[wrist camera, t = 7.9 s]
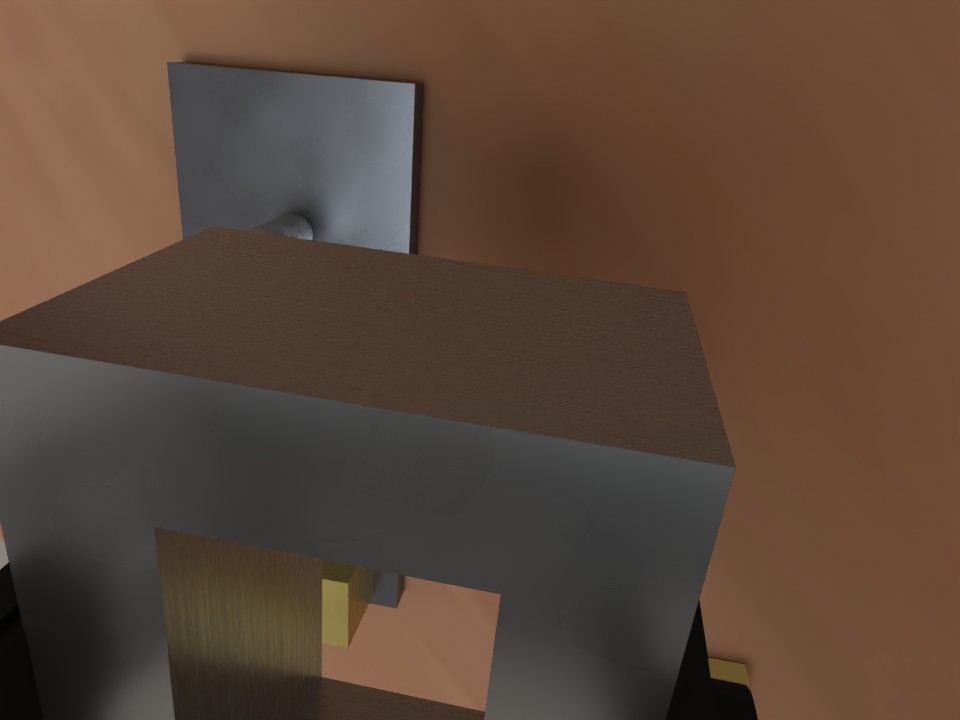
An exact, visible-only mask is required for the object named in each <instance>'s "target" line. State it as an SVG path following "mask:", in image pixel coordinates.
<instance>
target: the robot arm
mask: <svg viewBox="0 0 960 720" xmlns="http://www.w3.org/2000/svg"><path fill="white" fill-rule="evenodd" d="M0 720H43V715H42V710H41V705H40V700H39V696H38V691H37V686H36V681H35V677H34V672H33V667H32V662H31V658H30V653H29V648H28V643H27V639H26V634H25V630H23V626H22V621H21V617H20V612H19V607H18V603H17V598H16V593H15V588H14V584H13V579H12V574H11V569H10V565H9V563H8V564H7V565H5V566H4V567H3V568H2V569H1V570H0ZM666 720H758V719H757V714H756V709H755V704H754V701H753V697H752V694H751V691H750V689H749V688H748V686H747V685H745V684H740V683H735V682H730V681H725V680H720V679H715V678H711V675H710V668H709V661H708V654H707V648H706V641H705V634H704V628H703V621H702V614H701V608H700V601H698V605H697V609H696V612H695V616H694V619H693V623H692V627H691V630H690V634H689V637H688V641H687V645H686V648H685V652H684V656H683V659H682V663H681V666H680V670H679V674H678V677H677V681H676V684H675V688H674V692H673V695H672V699H671V702H670V706H669V710H668V713H667V717H666Z"/></svg>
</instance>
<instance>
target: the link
mask: <svg viewBox="0 0 960 720" xmlns="http://www.w3.org/2000/svg"><path fill="white" fill-rule="evenodd" d="M735 468H736V467H735V464H734V460H733V457H732V453H731V450H730V446H729V443H728V439H727V436H726V432H725V428H724V425H723V421H722V418H721V414H720V411H719V407H718V404H717V400H716V397H715V393H714V390H713V386H712V383H711V379H710V375H709V372H708V368H707V365H706V361H705V358H704V354H703V351H702V347H701V344H700V340H699V337H698V333H697V330H696V326H695V322H694V319H693V315H692V312H691V308H690V305H689V301H688V298H687V294H686V293H685V292H677V291H670V290H663V289H656V288H649V287H642V286H635V285H628V284H620V283H613V282H606V281H599V280H592V279H585V278H578V277H571V276H564V275H556V274H549V273H542V272H535V271H528V270H521V269H514V268H507V267H500V266H492V265H485V264H478V263H471V262H464V261H457V260H450V259H443V258H435V257H428V256H421V255H414V254H407V253H400V252H393V251H386V250H379V249H371V248H364V247H357V246H350V245H343V244H336V243H329V242H322V241H314V240H307V239H300V238H293V237H286V236H279V235H272V234H265V233H258V232H250V231H243V230H236V229H229V228H222V227H215V226H213V227H211V228H209V229H206V230H204V231H202V232H200V233H197V234H195V235H193V236H191V237H188V238H186V239H184V240H182V241H179V242H177V243H175V244H173V245H170V246H168V247H166V248H164V249H161V250H159V251H157V252H155V253H153V254H150V255H148V256H146V257H144V258H141V259H139V260H137V261H135V262H132V263H130V264H128V265H126V266H123V267H121V268H119V269H117V270H114V271H112V272H110V273H108V274H105V275H103V276H101V277H99V278H96V279H94V280H92V281H90V282H87V283H85V284H83V285H81V286H79V287H76V288H74V289H72V290H70V291H67V292H65V293H63V294H61V295H58V296H56V297H54V298H52V299H49V300H47V301H45V302H43V303H40V304H38V305H36V306H34V307H31V308H29V309H27V310H25V311H22V312H20V313H18V314H16V315H13V316H11V317H9V318H7V319H4V320H2V321H0V522H1V527H2V531H3V536H4V541H5V546H6V550H7V555H8V559H9V565H10V569H11V574H12V579H13V584H14V588H15V593H16V598H17V603H18V607H19V612H20V617H21V621H22V626H23V630H25V634H26V639H27V643H28V648H29V653H30V658H31V662H32V667H33V672H34V677H35V681H36V686H37V691H38V696H39V700H40V705H41V710H42V715H43V720H666V717H667V713H668V710H669V706H670V702H671V699H672V695H673V692H674V688H675V684H676V681H677V677H678V674H679V670H680V666H681V663H682V659H683V656H684V652H685V648H686V645H687V641H688V637H689V634H690V630H691V627H692V623H693V619H694V616H695V612H696V609H697V605H698V601H699V598H700V594H701V591H702V587H703V583H704V580H705V576H706V573H707V569H708V565H709V562H710V558H711V554H712V551H713V547H714V544H715V540H716V536H717V533H718V529H719V526H720V522H721V518H722V515H723V511H724V508H725V504H726V500H727V497H728V493H729V489H730V486H731V482H732V479H733V475H734V471H735ZM323 560H327V561H332V562H337V563H342V564H347V565H353V566H358V567H363V568H368V569H373V570H378V571H384V572H389V573H394V574H399V575H404V576H409V577H415V578H420V579H425V580H430V581H435V582H440V583H446V584H451V585H456V586H461V587H466V588H471V589H476V590H482V591H487V592H492V593H497V594H501V597H500V605H499V612H498V620H497V627H496V635H495V642H494V649H493V657H492V664H491V672H490V679H489V686H488V694H487V701H486V709H485V712H483V711H478V710H474V709H469V708H464V707H460V706H455V705H450V704H446V703H441V702H436V701H432V700H427V699H422V698H418V697H413V696H408V695H403V694H399V693H394V692H389V691H385V690H380V689H375V688H371V687H366V686H361V685H357V684H352V683H347V682H343V681H338V680H333V679H329V678H324V677H322V561H323Z"/></svg>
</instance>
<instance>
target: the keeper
mask: <svg viewBox="0 0 960 720" xmlns="http://www.w3.org/2000/svg"><path fill="white" fill-rule="evenodd" d="M167 65H168V77H169V88H170V99H171V110H172V121H173V132H174V144H175V155H176V166H177V177H178V188H179V199H180V211H181V222H182V233H183V240H184V239H186V238H188V237H191V236H193V235H195V234H197V233H200V232H202V231H204V230H206V229H209V228H211V227H213V226H215V227H222V228H229V229H236V230H243V231H250V232H258V233H265V234H272V235H279V236H286V237H293V238H300V239H307V240H314V241H322V242H329V243H336V244H343V245H350V246H357V247H364V248H371V249H379V250H386V251H393V252H400V253H407V254H414V255H417V229H418V204H419V178H420V152H421V126H422V100H423V83H420V82H409V81H397V80H385V79H374V78H362V77H351V76H339V75H327V74H316V73H304V72H293V71H281V70H270V69H258V68H246V67H235V66H223V65H212V64H200V63H188V62H167ZM403 591H404V575H399V574H394V573H389V572H384V571H378V570H373V569H368V568H363V567H358V566H353V565H347V564H342V563H337V562H332V561H327V560H323V561H322V644H328V645H333V646H338V647H343V648H349V646H350V643H351V641H352V639H353V637H354V635H355V633H356V630H357V628H358V626H359V624H360V622H361V620H362V617H363V615H364V613H365V611H366V609H367V607H368V604H369V603H372V604H377V605H382V606H388V607H393V608H397V606H398V604H399V602H400V599H401V597H402V594H403Z"/></svg>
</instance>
